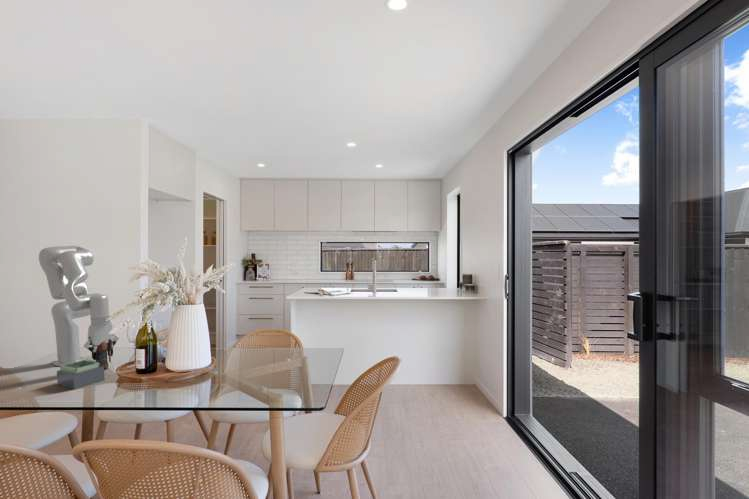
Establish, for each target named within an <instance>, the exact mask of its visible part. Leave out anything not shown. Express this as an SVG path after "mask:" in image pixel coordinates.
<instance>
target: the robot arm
mask: <svg viewBox="0 0 749 499" xmlns="http://www.w3.org/2000/svg"><path fill="white" fill-rule="evenodd" d="M94 261H95V260H94V255H93V252H92V251H90V250H88V249H87V248H84V247H80V246H78V245H67V246H66V245H65V246H63V245H62V246H48V247H44V248H43V249H41V250H40V251H39V254H38V262H39V265H40V267H41V269H42V271H43V272H44V274H45V276H46V280H47V283H48V285H47V286H48V289H49V293H50V296H51V298H52V299H53V300H65V301H60V302H57V303H55V304H53V306H52V307H51V309H50V310H51V316H52V319H53V323H54V333H55V343H56V344H55V345H56V357H57V360H56V361H54V362H53V365H54V366H55V367H60V366H63V365H66V364H70V363H74V362H78V361H82V360H85V357H84V356H81V345H80V331H79V327H78V324H77V323H76V322H75V321H74V320H73V319H79V318H84V317H88V316H89V317H90V324H89V325H88V330H87V341H85V343H84V344H83V348H85V349H87V350H88V351H89V352H91V358H92V361H96V360H98V353H97V352H96V349H97V346H98V345H100V344H101V343H102V342H104V341H106V342H107V343H108V349H107V357H109V341H108V340H109V339H111V340H112V348H111V357H113V356H114V355H113V354H114V347H115V345H116V344H117V342H118V341H119V339H120V338H119V337H118V336H117V335H115V333H113V334H109V332H110V331H111V330H112V329H113V330H114V327H113V324H112V321H111V319H110V320H108V321H106V318H108V317H109V316H110V307H109V298H108V297H109V296H108V295H107V294H100V293H90V291H89V288H88V285H87V283H86V282H85V281H86V280H87V279H88V278H89V273H88V271H87V269H86V267H89V266H92V265H93V264H94ZM59 264H60V265H59Z"/></svg>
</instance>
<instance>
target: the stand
mask: <svg viewBox="0 0 749 499" xmlns="http://www.w3.org/2000/svg"><path fill="white" fill-rule="evenodd" d="M56 379H57V385H58V386H60V387H64V388H68V389H71V390H77V389H81V388H84V387H87V386H89V385H93V383H94V384H96V383H99V382H103V381H105V380H106V379H105V369H104V367H103V366H100V362H96V360H91V359H90V360H89V359H84V360H82V361H78V362H74V363H70V364H66V365H63V366H59V370H56Z"/></svg>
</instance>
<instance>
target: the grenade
mask: <svg viewBox="0 0 749 499" xmlns="http://www.w3.org/2000/svg"><path fill="white" fill-rule="evenodd" d="M108 341H109V356H108V352H107V349H108V343H107V342H106V341H104V342H102V343H101V344H100V345H98V346H97V349H96V352H97V353H98V360H95V362H100V366H103V367H104V370H107V369H108V368H109V364H112V356H111V348H112V340H111V339H109V340H108ZM108 362H109V363H108Z"/></svg>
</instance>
